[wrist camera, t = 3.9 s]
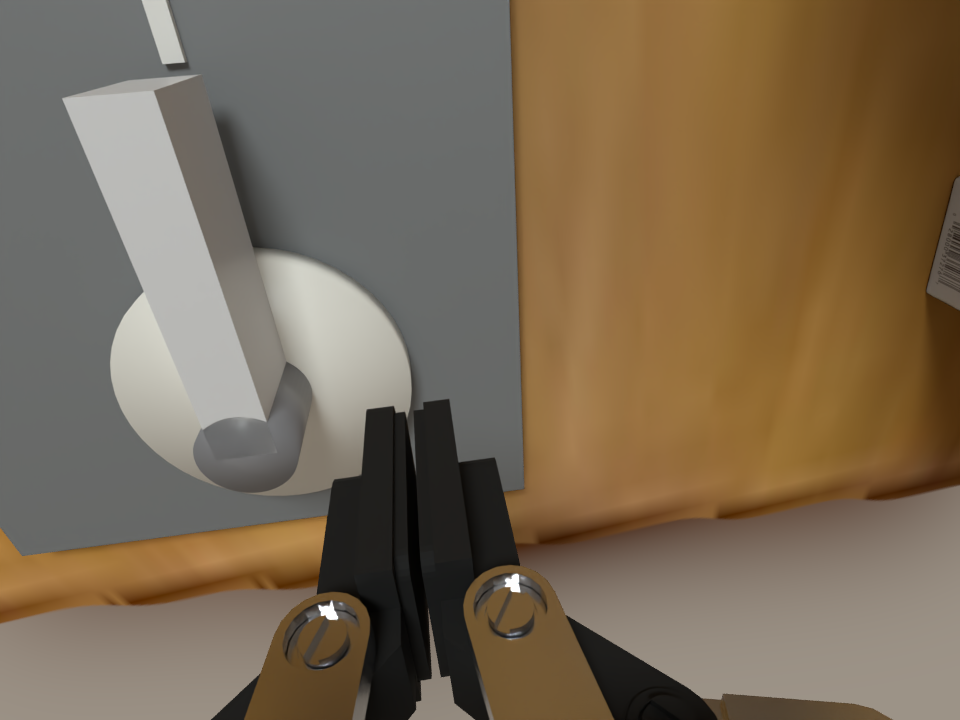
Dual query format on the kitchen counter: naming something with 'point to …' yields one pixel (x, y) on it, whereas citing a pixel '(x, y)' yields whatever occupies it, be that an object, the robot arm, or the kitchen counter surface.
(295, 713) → the robot arm
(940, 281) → the coffee box
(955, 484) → the kitchen counter surface
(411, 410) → the dial board
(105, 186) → the dial
